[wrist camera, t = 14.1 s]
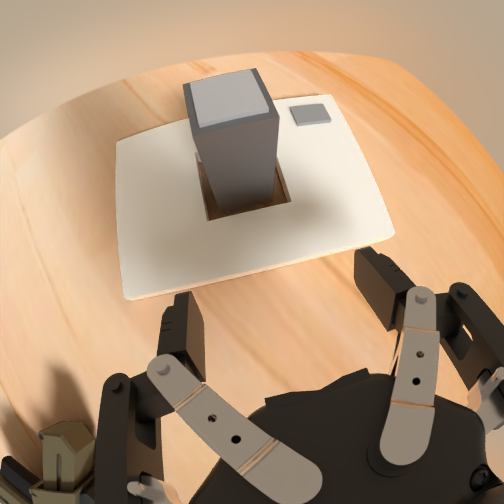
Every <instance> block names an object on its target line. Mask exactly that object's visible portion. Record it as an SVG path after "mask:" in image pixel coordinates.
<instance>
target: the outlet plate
mask: <svg viewBox="0 0 504 504" xmlns="http://www.w3.org/2000/svg"><path fill="white" fill-rule="evenodd" d="M272 101H273V103H274V105H275V107H276V110H277V112H278V114H279V116H280V120H279V133H278V144H277V156H276V168H277V171H278V174H279V178H280V181H281V184H282V187H283V190H284V193H285V196H286V199H287V203H284V204H279V205H275V206H270V207H266V208H261V209H257V210H252V211H248V212H244V213H240V214H235V215H231V216H227V217H223V218H219V219H215V220H211V221H209V216H208V211H207V205H206V200H205V195H204V189H203V184H202V178H201V173H200V167H199V162H201V159H200V156H199V154H198V151H197V148H196V145H195V143H194V140H193V137H192V132H191V127H190V122H189V118H186V119H183V120H179V121H176V122H172V123H169V124H166V125H163V126H159V127H156V128H153V129H150V130H147V131H144V132H141V133H138V134H136V135H133V136H130V137H127V138H125V139H122V140H120V141H117V142H116V167H115V198H116V224H117V240H118V252H119V262H120V271H121V279H122V287H123V294H124V299H127V300H133V301H134V300H139V299H143V298H148V297H153V296H157V295H162V294H167V293H171V292H176V291H180V290H185V289H189V288H194V287H198V286H202V285H207V284H211V283H216V282H220V281H224V280H228V279H233V278H237V277H241V276H245V275H250V274H254V273H258V272H262V271H266V270H270V269H275V268H279V267H283V266H287V265H291V264H295V263H299V262H303V261H307V260H311V259H315V258H319V257H323V256H326V255H330V254H334V253H338V252H342V251H346V250H350V249H353V248H357V247H361V246H365V245H368V244H372V243H376V242H380V241H383V240H387V239H389V238H390V237H392V236H393V235H394V234H395V231H394V228H393V225H392V222H391V220H390V217H389V214H388V211H387V209H386V206H385V204H384V201H383V199H382V196H381V194H380V191H379V189H378V187H377V184H376V182H375V180H374V177H373V175H372V173H371V170H370V168H369V166H368V164H367V162H366V160H365V158H364V155H363V153H362V151H361V149H360V147H359V145H358V143H357V141H356V139H355V137H354V135H353V133H352V131H351V130H350V128H349V126H348V124H347V122H346V120H345V118H344V117H343V115H342V113H341V111H340V110H339V108H338V106H337V104H336V103H335V101H334V99H333V98H332V96H331V95H316V96H305V97H296V98H287V99H280V100H272Z"/></svg>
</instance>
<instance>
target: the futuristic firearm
mask: <svg viewBox="0 0 504 504" xmlns="http://www.w3.org/2000/svg"><path fill="white" fill-rule="evenodd" d="M39 438H40V440H41V442H42V444H43V452H42V457H43V479H41V480H40V479H39V478H38V477H36V476H35V475H34V474H32V473H31V472H30V471H28V470H27V469H26V468H25V467H23V466H22V465H21V464H20V463H19V462H17V461H16V460H15V459H14V458H13V457H12V456H6V457H4V458H3V459H2V462H1V470H0V503H1V504H95V497H94V479H95V468H94V469H92V461H93V453H94V446H95V439H94V437H93V436H92V435H91V433H90V432H89V431H88V429H87V428H86V427H85V425H84V424H83V422H65V421H61V422H59V423H57V424H55V425H53V426H51V427H48V428H46V429H44V430H42V431H40V432H39Z"/></svg>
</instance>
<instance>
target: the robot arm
mask: <svg viewBox="0 0 504 504" xmlns="http://www.w3.org/2000/svg"><path fill="white" fill-rule="evenodd" d="M354 280H355V283H356V286H357V287H358V289H359V290H360V292H361V293H362V295H363V296H364V297H365V299H366V300H367V302H368V303H369V305H370V306H371V308H372V309H373V311H374V312H375V314H376V315H377V316H378V318H379V319H380V321H381V322H382V324H383V326H384V327H385V329H386V330H387V332H388V331H391V330H393V329H396V330H397V332H398V333H397V336H396V342H395V347H394V353H393V358H392V362H391V367H390V370H389V374H388V375H387V374H379V373H376V374H369V372H368V370H367V368H364V369H361V370H359V371H356V372H353V373H350V374H348V375H345V376H342V377H341V378H339V379H338V380H336V381H334V382H333V383H331V384H329V385H328V386H326V387H324V388H322V389H320V390H316V391H301V392H289V393H285V394H281V395H277V396H273V397H268V398H265V403H266V405H265V406H263V407H261V408H259V409H258V410H256V411H255V412H253V413H252V414H251V415H250V416H249V417H248V418H246V417H244V416H243V415H242V414H240V413H239V412H238V411H237V410H236V409H234V408H233V407H232V406H231V405H230V404H228V403H227V402H226V401H225V400H224V399H222V398H221V397H220V396H219V395H218V394H217V393H216V392H214V391H213V390H212V389H211V388H210V387H209V386H207V385H206V384H204V385H203V384H202V383H201V382H206V375H205V345H204V322H203V318H202V315H201V312H200V310H199V308H198V305H197V303H196V301H195V298H194V296H193V294H192V292H191V291H188V292H183V293H179V294H176V295H175V299H174V306H169V307H167V309H166V310H165V312H164V313H163V315H162V321H161V328H160V335H159V342H158V350H157V357H155V358H154V359H153V360H152V361H151V362H150V363H149V365H148V367H147V371H145V372H144V373H141V374H139V375H137V376H134V377H132V378H129V377H128V376H127V375H126V374H123V373H116V374H113V375H112V376H110V377H109V378H108V379H107V380H106V381H105V383H104V385H103V390H102V397H101V404H100V411H99V420H98V429H97V440H96V454H95V479H94V497H95V504H182V503H181V501H180V500H179V497H178V494H177V492H176V490H175V488H174V487H173V486H171V485H170V484H168V483H166V482H164V473H163V460H162V442H161V417H162V416H165V415H167V414H169V413H172V412H174V411H176V412H177V413H178V414H179V415H180V417H181V418H182V419H183V420H184V421H185V422H186V423H187V424H188V425H189V426H190V427H191V428H192V429H193V430H194V432H195V433H196V434H197V435H198V436H199V437H200V438H201V439H202V440H203V441H204V442H205V443H206V444H207V445H208V446H209V447H211V448H212V449H213V450H214V451H215V452H216V453H217V454H218V455H219V456H220V459H219V460H218V462H217V463H216V465H215V466H214V468H213V469H212V471H211V472H210V474H209V475H208V476H207V478H206V479H205V481H204V482H203V483H202V485H201V486H200V488H199V489H198V490H197V492H196V493H195V494H194V496H193V497H192V499H191V500H190V502H189V504H504V482H502V481H501V480H500V479H499V478H498V477H497V476H496V475H495V474H494V473H493V472H492V471H491V469H490V468H489V466H488V464H487V459H486V452H485V435H486V434H488V433H489V432H490V431H491V430H496V429H499V428H500V427H501V426H503V425H504V325H503V324H502V323H501V322H500V320H499V319H498V318H497V317H496V315H495V314H494V313H493V312H492V311H491V309H490V308H489V307H488V306H487V305H486V303H485V302H484V301H483V300H482V299H481V298H480V296H479V295H478V294H477V293H476V292H475V291H474V290H473V289H472V288H471V287H470V286H469V285H467V284H465V283H461V282H457V283H454V284H452V285H451V286H450V289H449V292H448V293H440V294H434V293H433V291H431V290H430V289H428V288H426V287H422V286H416V285H415V284H414V283H413V282H412V281H411V280H410V279H409V277H408V276H407V275H406V274H405V273H404V272H403V271H402V270H400V268H399V267H398V266H397V265H396V264H395V263H394V262H393V261H392V260H391V259H390V258H389V257H387V256H385V255H383V254H381V253H380V254H377V253H376V252H375V251H374V249H373V248H372V247H370V246H368V247H365V248H361V249H357V250H355V254H354ZM463 324H464V325H465V327H466V328H467V329H468V331H469V332H470V333H471V335H472V339H473V341H472V340H471V338H470V337H469V335H468V334H467V333H466V331H465V330H464V329H463ZM439 342H440V344H441V345H442V347H443V348H444V350H445V352H446V353H447V355H448V356H449V358H450V360H451V361H452V363H453V365H454V366H455V368H456V370H457V371H458V373H459V375H460V377H461V378H462V380H463V382H464V384H465V385H466V387H467V389H468V391H469V393H468V405H467V407H465V406H462V405H460V404H457V403H455V402H452V401H450V400H448V399H445V398H443V397H440V396H438V395H436V394H435V389H436V381H437V371H438V359H439Z"/></svg>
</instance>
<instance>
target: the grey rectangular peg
mask: <svg viewBox="0 0 504 504" xmlns="http://www.w3.org/2000/svg"><path fill="white" fill-rule="evenodd" d="M183 90H184V95H185V101H186V106H187V112H188V117H189V122H190V127H191V132H192V137H193V140H194V143H195V145H196V148H197V151H198V154H199V156H200V159H201V162H202V165H203V167H204V170H205V173H206V176H207V178H208V181H209V184H210V186H211V189H212V192H213V195H214V197H215V200H216V203H217V205H218V208H219V211H220V213H221V214H224V213H228V212H232V211H235V210H239V209H243V208H247V207H251V206H255V205H259V204H263V203H267V202H271V201H272V200H273V190H274V179H275V167H276V156H277V144H278V133H279V120H280V116H279V114H278V112H277V110H276V107H275V105H274V103H273V101H272V99H271V97H270V95H269V93H268V91H267V89H266V87H265V85H264V83H263V81H262V79H261V77H260V75H259V73H258V71H257V69H256V68H254V69H248V70H243V71H237V72H232V73H227V74H223V75H218V76H214V77H209V78H205V79H201V80H198V81H194V82H190V83H187V84H183Z"/></svg>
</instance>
